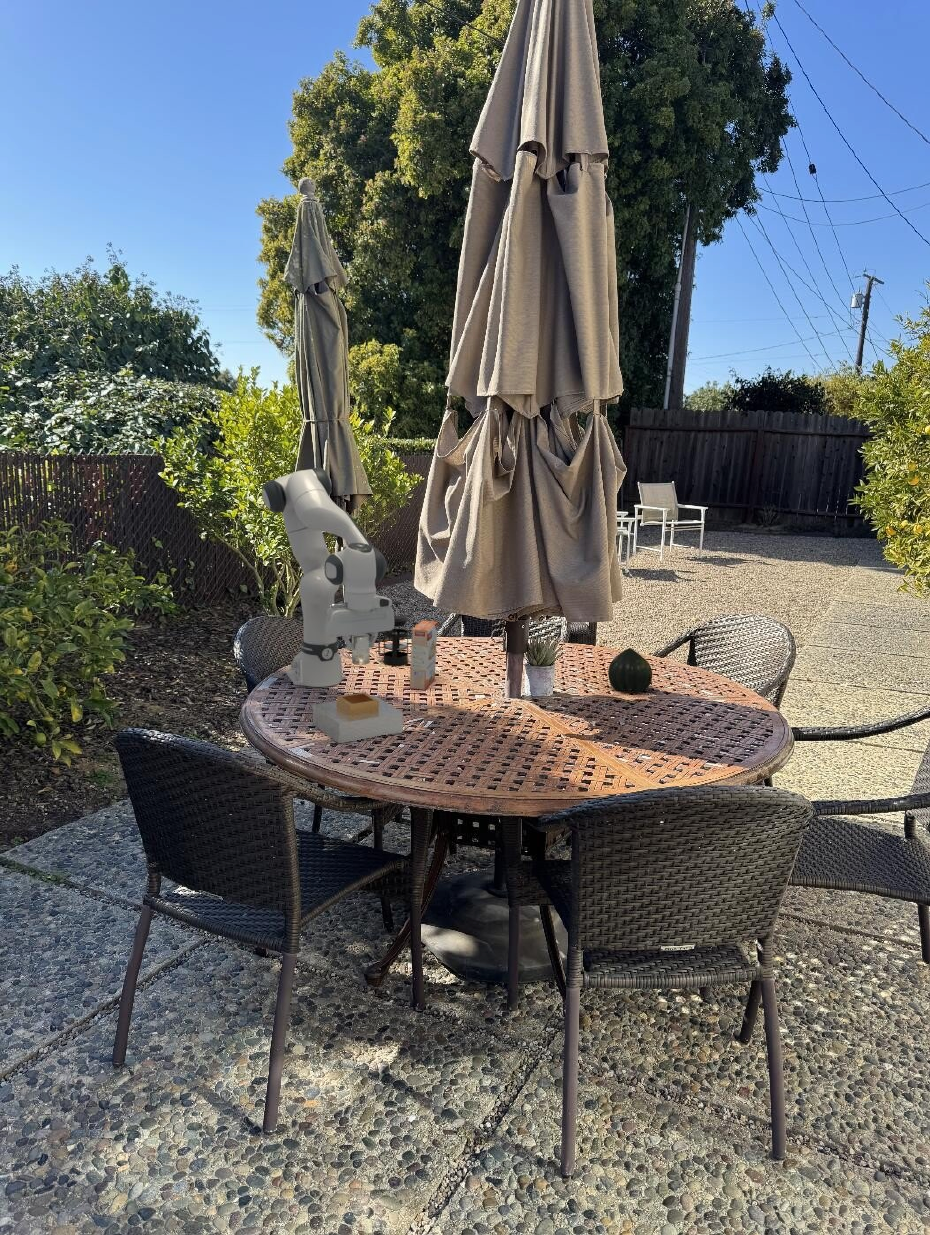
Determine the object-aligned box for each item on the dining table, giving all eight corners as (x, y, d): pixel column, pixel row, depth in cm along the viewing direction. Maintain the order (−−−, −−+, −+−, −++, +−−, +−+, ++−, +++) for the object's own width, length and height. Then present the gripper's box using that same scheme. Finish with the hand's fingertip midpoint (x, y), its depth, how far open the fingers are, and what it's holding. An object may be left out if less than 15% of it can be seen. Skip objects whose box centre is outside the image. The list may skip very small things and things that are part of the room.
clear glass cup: (349, 661, 249) (348, 634, 247) (364, 659, 252) (364, 632, 250) (356, 665, 245) (356, 638, 243) (372, 663, 248) (372, 636, 246)
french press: (411, 659, 325) (412, 600, 320) (408, 666, 316) (410, 605, 311) (379, 658, 325) (381, 598, 320) (376, 665, 316) (377, 603, 311)
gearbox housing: (312, 724, 253) (312, 694, 251) (373, 713, 264) (374, 685, 262) (338, 744, 238) (339, 712, 236) (402, 732, 249) (403, 702, 247)
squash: (636, 685, 286) (650, 646, 292) (595, 677, 295) (611, 640, 300) (648, 705, 296) (662, 667, 302) (609, 697, 305) (623, 661, 310)
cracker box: (426, 691, 288) (428, 630, 284) (409, 689, 289) (410, 628, 285) (436, 679, 302) (438, 621, 297) (419, 677, 303) (421, 619, 298)
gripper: (331, 606, 236) (331, 655, 239) (397, 600, 247) (396, 646, 250) (321, 602, 241) (322, 650, 245) (386, 596, 252) (386, 642, 255)
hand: (360, 648), depth 247 cm, fingers closed on clear glass cup, 5 cm apart
